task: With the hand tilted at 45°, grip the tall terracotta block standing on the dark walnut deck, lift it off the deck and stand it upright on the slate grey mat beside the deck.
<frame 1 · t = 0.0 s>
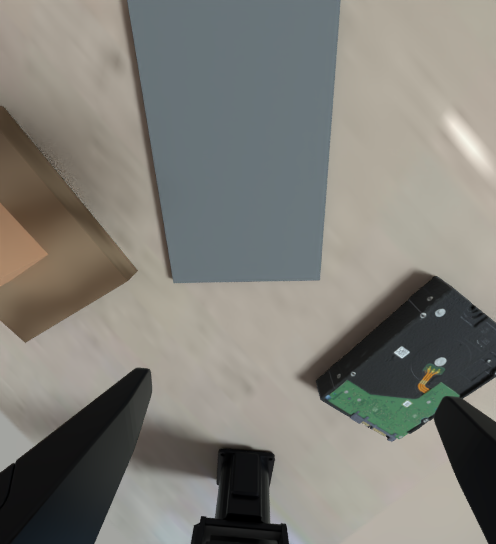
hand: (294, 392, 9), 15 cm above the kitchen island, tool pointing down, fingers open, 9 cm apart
slate grey mat: (240, 163, 20), on the kitchen island
terracotta block: (4, 244, 21), point 2 cm above the kitchen island, touching walnut deck
walnut deck: (25, 236, 22), on the kitchen island
disk drive: (403, 355, 27), on the kitchen island
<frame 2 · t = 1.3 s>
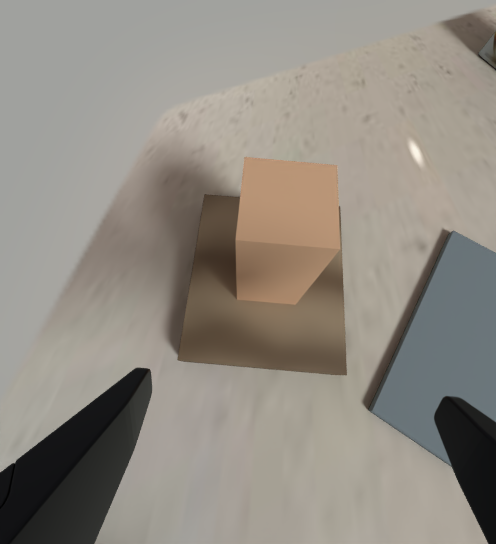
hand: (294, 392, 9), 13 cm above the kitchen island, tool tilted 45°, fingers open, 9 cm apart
slate grey mat: (482, 352, 22), on the kitchen island
terracotta block: (267, 274, 22), point 2 cm above the kitchen island, touching walnut deck
walnut deck: (265, 282, 24), on the kitchen island
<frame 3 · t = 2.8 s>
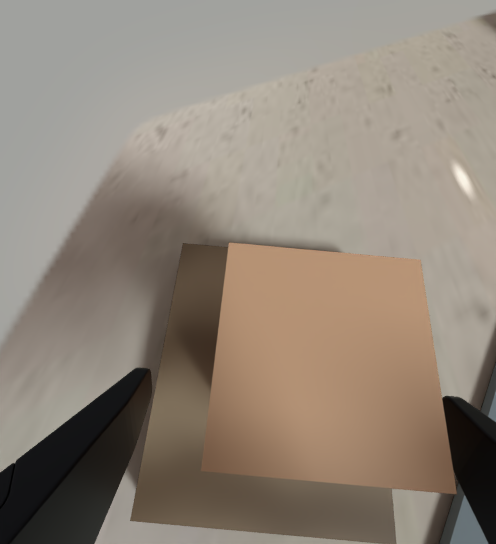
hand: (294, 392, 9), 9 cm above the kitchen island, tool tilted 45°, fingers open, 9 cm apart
terracotta block: (271, 368, 15), point 2 cm above the kitchen island, touching walnut deck
walnut deck: (267, 369, 17), on the kitchen island
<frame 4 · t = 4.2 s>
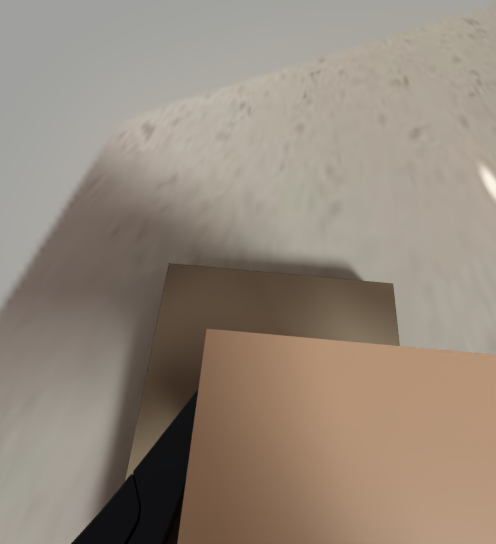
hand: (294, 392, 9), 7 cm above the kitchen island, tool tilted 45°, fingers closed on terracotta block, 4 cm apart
terracotta block: (274, 420, 12), point 2 cm above the kitchen island, touching gripper, walnut deck
walnut deck: (269, 414, 14), on the kitchen island
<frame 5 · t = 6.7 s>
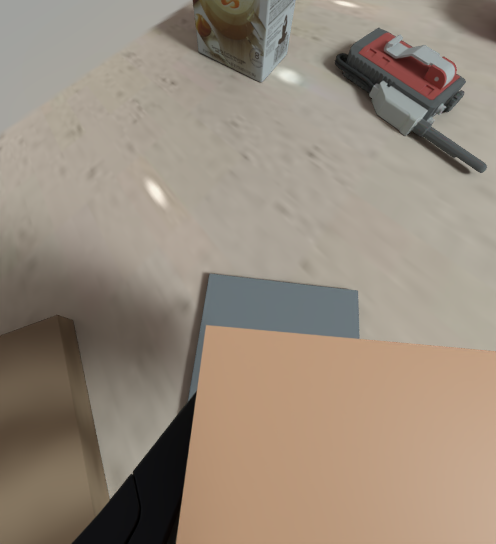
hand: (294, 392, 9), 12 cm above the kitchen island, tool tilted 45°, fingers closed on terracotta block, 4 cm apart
slate grey mat: (274, 404, 20), on the kitchen island
terracotta block: (274, 419, 12), point 8 cm above the kitchen island, touching gripper
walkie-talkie: (409, 111, 31), on the kitchen island
coffee box: (243, 55, 33), on the kitchen island
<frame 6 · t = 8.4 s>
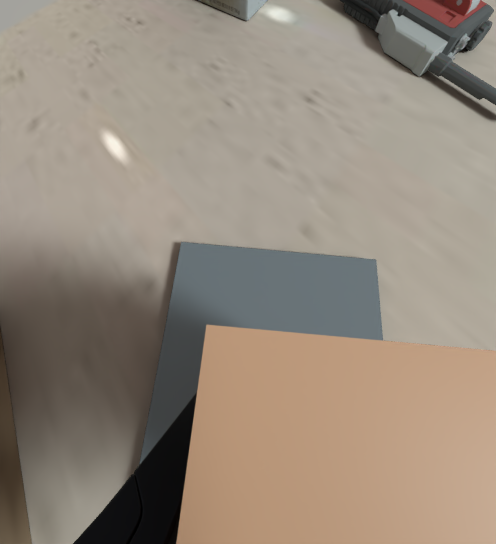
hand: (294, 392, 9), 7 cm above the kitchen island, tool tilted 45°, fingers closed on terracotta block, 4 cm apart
slate grey mat: (269, 412, 14), on the kitchen island
terracotta block: (274, 419, 12), point 2 cm above the kitchen island, touching gripper
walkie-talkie: (423, 51, 26), on the kitchen island
when the fingers open (7 cm above the kitchen island, at t = 8.5 s): terracotta block drops 2 cm, resting on slate grey mat.
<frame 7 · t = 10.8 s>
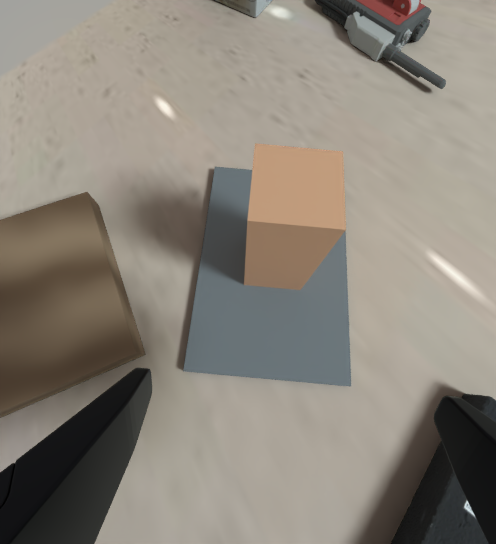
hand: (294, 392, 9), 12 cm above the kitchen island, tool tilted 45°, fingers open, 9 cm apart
slate grey mat: (273, 264, 23), on the kitchen island
terracotta block: (273, 261, 23), point 1 cm above the kitchen island, touching slate grey mat
walnut deck: (44, 301, 22), on the kitchen island
disk drive: (481, 539, 18), on the kitchen island
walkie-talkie: (382, 42, 34), on the kitchen island
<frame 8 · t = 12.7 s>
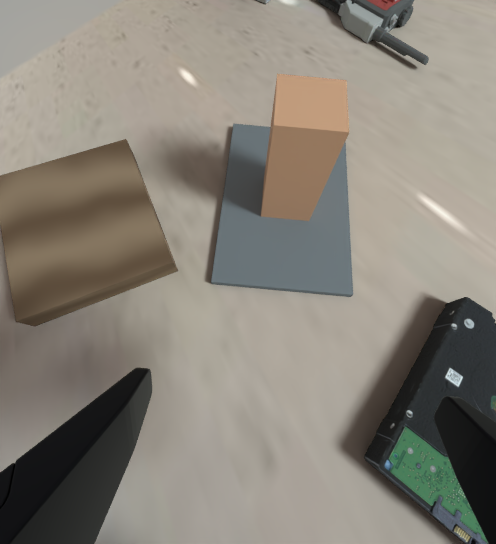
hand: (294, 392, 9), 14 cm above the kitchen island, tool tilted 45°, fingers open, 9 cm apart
slate grey mat: (285, 202, 27), on the kitchen island
terracotta block: (285, 198, 27), point 1 cm above the kitchen island, touching slate grey mat
walnut deck: (90, 229, 25), on the kitchen island
disk drive: (462, 415, 22), on the kitchen island
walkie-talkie: (372, 28, 39), on the kitchen island
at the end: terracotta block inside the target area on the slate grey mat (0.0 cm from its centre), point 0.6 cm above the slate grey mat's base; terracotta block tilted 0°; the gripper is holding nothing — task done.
